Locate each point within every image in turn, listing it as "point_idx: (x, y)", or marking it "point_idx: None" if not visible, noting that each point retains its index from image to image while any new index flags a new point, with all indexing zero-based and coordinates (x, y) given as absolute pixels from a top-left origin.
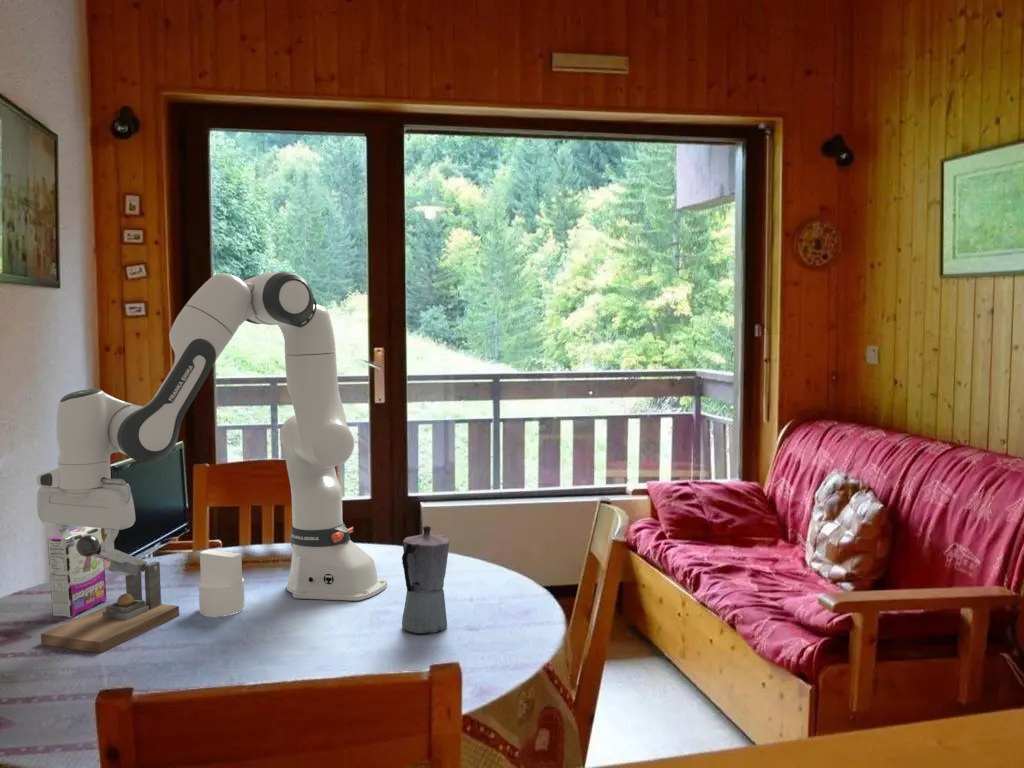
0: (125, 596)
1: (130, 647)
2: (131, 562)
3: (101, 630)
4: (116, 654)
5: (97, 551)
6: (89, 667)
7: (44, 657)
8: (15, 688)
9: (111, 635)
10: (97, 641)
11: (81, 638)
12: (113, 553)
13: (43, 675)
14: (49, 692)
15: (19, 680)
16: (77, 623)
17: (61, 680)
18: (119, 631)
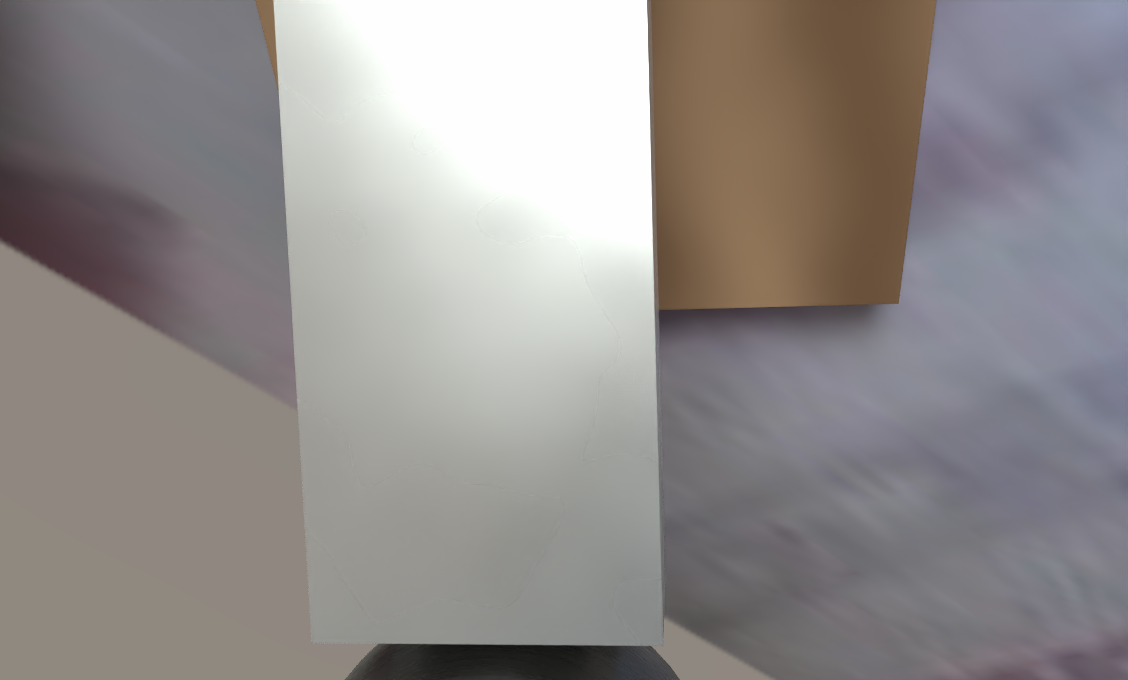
0: None
1: (1039, 107)
2: None
3: (713, 121)
4: (1015, 239)
5: (656, 652)
6: (976, 427)
7: None
8: (786, 662)
9: (886, 178)
10: (864, 296)
11: (699, 293)
12: (654, 242)
13: (795, 553)
14: (985, 653)
15: (726, 612)
16: None
17: (942, 567)
18: (888, 86)
